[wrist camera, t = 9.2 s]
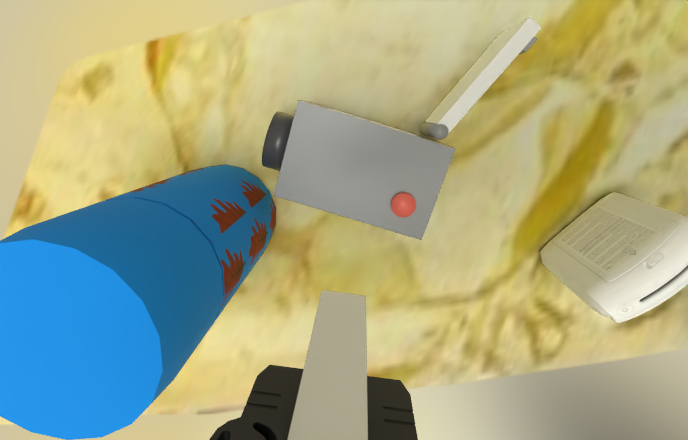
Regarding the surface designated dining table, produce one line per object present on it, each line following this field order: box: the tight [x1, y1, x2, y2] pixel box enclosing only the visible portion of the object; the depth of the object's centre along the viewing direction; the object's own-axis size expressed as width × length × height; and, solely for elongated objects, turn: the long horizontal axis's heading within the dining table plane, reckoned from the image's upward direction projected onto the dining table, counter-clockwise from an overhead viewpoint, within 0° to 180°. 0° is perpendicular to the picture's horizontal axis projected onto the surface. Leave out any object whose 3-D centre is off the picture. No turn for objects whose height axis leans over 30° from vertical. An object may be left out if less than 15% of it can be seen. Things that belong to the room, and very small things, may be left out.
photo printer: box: [540, 192, 688, 323], centre depth 36 cm, size 10×4×12 cm, turn 136°
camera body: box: [262, 100, 455, 240], centre depth 36 cm, size 15×8×9 cm, turn 73°
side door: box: [420, 17, 541, 140], centre depth 35 cm, size 11×2×8 cm, turn 141°
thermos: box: [0, 165, 276, 440], centre depth 31 cm, size 11×11×25 cm
